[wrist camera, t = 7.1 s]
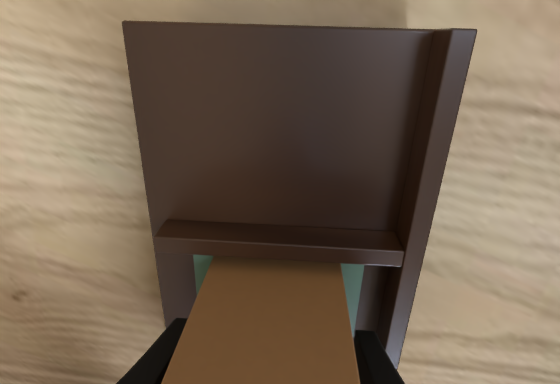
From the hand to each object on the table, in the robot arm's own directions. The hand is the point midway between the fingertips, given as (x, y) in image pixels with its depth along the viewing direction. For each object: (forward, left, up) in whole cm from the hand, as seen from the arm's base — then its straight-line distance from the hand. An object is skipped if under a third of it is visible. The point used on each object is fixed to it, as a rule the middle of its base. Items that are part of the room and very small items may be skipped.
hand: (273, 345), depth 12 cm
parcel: (0, 0, -1) cm, 1 cm away
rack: (0, 0, -6) cm, 6 cm away
